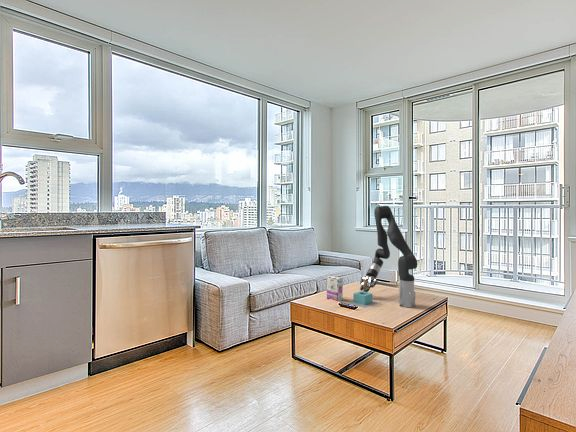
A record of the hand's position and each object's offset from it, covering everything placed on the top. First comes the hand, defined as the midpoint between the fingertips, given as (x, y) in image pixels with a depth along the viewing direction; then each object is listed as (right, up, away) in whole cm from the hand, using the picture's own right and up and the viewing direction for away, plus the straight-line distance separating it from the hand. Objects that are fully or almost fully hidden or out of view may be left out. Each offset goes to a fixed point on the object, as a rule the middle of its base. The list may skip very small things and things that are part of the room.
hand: (363, 290), depth 236 cm
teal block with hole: (-3, -6, -9) cm, 11 cm away
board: (-3, -7, -10) cm, 13 cm away
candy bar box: (-21, -7, -1) cm, 22 cm away
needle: (+1, -6, +2) cm, 7 cm away
